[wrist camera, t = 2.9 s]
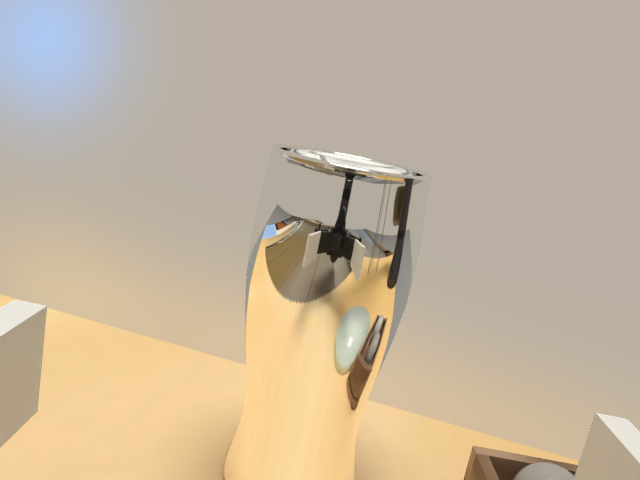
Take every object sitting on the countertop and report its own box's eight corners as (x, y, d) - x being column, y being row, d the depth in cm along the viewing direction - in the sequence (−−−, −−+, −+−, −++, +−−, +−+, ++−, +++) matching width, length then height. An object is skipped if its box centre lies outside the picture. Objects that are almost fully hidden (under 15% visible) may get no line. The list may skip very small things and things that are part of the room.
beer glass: (355, 445, 30) (418, 166, 26) (369, 546, 23) (456, 186, 20) (225, 425, 29) (272, 139, 26) (199, 521, 22) (259, 149, 19)
